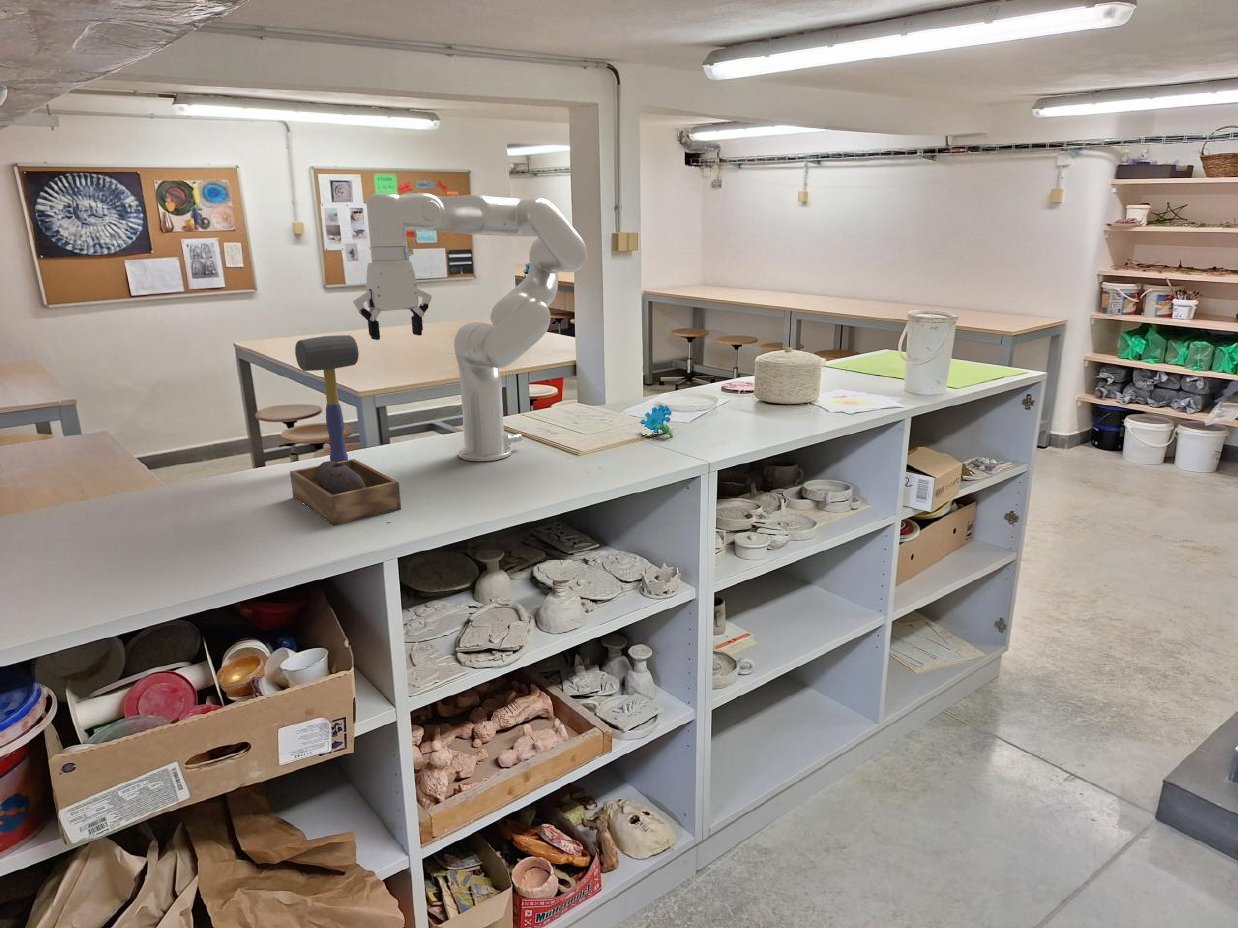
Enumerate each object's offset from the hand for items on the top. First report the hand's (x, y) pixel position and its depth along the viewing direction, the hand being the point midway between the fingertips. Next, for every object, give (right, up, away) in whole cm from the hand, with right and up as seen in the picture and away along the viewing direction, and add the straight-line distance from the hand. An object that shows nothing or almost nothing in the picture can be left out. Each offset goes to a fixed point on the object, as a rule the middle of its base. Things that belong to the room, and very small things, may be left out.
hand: (396, 337), depth 180 cm
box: (-7, -35, -12) cm, 38 cm away
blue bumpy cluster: (+58, -20, +37) cm, 72 cm away
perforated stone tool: (-7, -35, -12) cm, 38 cm away
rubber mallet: (-17, -28, +14) cm, 35 cm away
